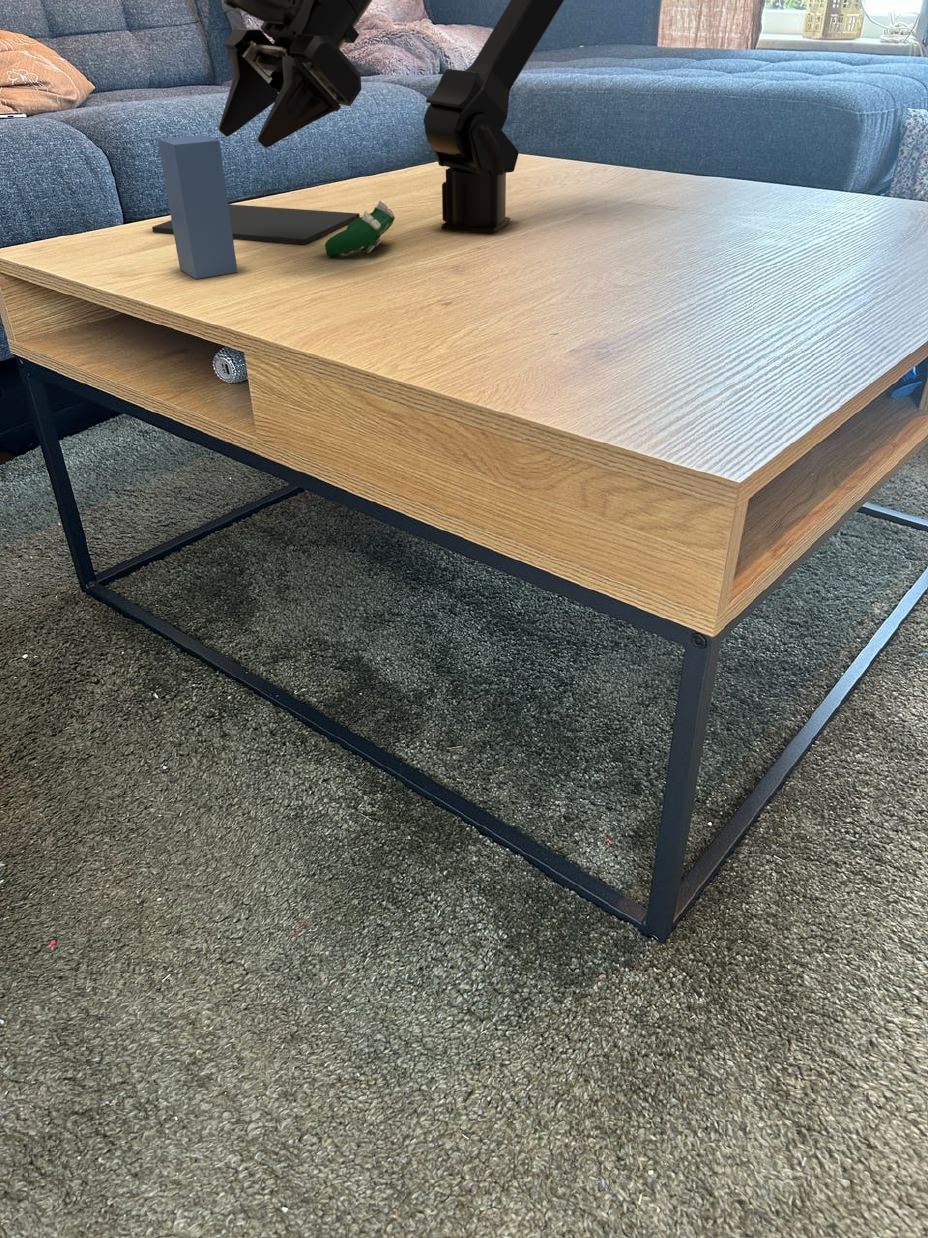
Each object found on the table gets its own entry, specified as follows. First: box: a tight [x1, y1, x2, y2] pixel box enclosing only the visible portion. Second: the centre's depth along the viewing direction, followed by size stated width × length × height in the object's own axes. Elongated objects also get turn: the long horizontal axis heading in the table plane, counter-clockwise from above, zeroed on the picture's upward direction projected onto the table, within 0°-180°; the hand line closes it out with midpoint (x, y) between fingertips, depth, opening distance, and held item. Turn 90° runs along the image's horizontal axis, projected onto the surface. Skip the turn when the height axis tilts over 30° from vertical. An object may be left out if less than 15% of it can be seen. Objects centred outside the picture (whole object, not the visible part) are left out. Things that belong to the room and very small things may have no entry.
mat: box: [151, 203, 361, 245], centre depth 114 cm, size 20×14×1 cm
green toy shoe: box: [324, 200, 396, 258], centre depth 103 cm, size 9×4×6 cm
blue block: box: [157, 134, 239, 280], centre depth 93 cm, size 4×4×12 cm
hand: (241, 138), depth 93 cm, fingers open, 9 cm apart
